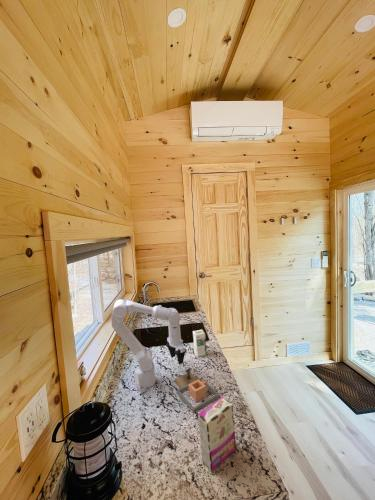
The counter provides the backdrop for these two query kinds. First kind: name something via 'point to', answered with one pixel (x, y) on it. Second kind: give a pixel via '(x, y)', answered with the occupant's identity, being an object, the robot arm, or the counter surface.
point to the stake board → (185, 379)
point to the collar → (197, 390)
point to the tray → (202, 402)
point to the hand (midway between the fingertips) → (176, 360)
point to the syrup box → (199, 343)
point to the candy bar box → (217, 433)
